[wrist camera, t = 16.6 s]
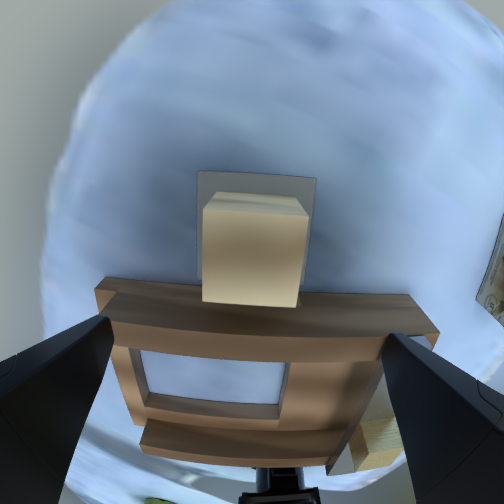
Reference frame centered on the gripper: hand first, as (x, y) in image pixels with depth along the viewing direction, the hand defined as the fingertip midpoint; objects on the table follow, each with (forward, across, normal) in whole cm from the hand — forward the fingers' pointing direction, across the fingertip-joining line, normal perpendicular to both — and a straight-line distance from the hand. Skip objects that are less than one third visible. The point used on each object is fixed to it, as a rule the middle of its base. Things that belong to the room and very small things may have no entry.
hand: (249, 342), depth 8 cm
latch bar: (+6, -10, +13) cm, 18 cm away
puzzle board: (+12, -1, +13) cm, 18 cm away
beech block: (+11, 0, 0) cm, 11 cm away
